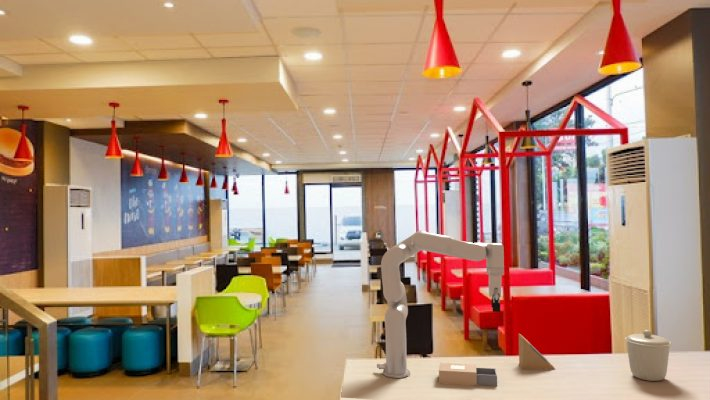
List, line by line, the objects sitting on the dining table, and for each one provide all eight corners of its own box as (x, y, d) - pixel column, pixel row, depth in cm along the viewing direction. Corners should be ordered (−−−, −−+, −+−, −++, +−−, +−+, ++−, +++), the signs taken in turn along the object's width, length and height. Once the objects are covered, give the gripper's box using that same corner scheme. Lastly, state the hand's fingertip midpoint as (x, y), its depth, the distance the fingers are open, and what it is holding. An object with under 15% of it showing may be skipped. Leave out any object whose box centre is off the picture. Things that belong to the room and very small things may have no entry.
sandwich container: (556, 369, 242) (555, 337, 242) (522, 369, 243) (522, 337, 243) (551, 364, 250) (551, 333, 250) (519, 363, 252) (518, 333, 252)
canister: (669, 373, 234) (668, 327, 234) (674, 386, 217) (674, 336, 217) (624, 368, 241) (623, 323, 241) (626, 381, 225) (625, 332, 225)
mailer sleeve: (439, 384, 224) (438, 370, 224) (440, 375, 235) (440, 362, 235) (476, 386, 221) (476, 372, 221) (476, 377, 232) (475, 364, 232)
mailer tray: (461, 383, 223) (461, 373, 223) (461, 376, 232) (461, 366, 232) (497, 385, 220) (496, 375, 220) (495, 378, 229) (495, 368, 229)
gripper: (485, 268, 239) (486, 305, 239) (487, 273, 222) (488, 313, 222) (502, 268, 237) (503, 305, 237) (505, 273, 220) (506, 313, 220)
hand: (495, 309), depth 229 cm, fingers open, 9 cm apart
